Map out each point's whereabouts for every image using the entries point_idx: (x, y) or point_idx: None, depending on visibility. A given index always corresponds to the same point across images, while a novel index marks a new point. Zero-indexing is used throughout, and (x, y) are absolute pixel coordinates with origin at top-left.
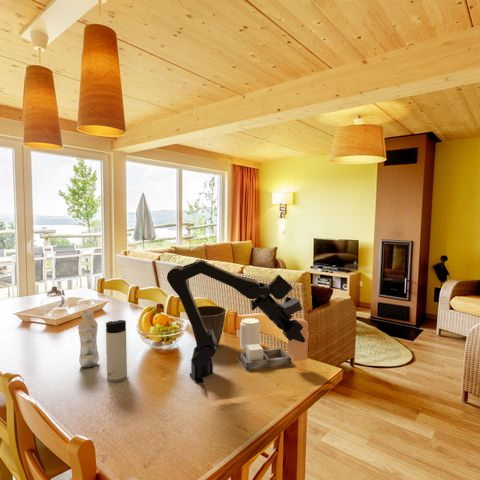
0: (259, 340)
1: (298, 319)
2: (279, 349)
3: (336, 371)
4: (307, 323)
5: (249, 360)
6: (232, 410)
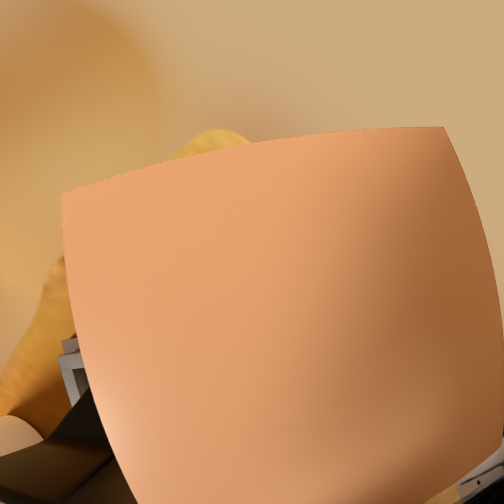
0: (7, 435)
1: (178, 336)
2: (72, 372)
3: (232, 133)
4: (438, 150)
5: None
6: (444, 497)
